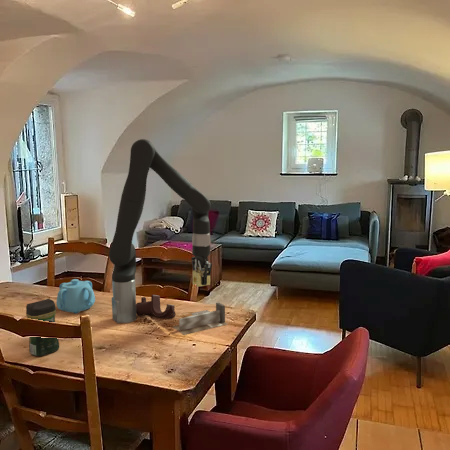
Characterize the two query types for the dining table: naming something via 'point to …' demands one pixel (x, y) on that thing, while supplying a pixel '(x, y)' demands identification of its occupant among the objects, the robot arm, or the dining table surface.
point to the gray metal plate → (200, 312)
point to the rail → (202, 321)
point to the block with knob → (199, 278)
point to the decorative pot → (75, 296)
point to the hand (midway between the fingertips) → (201, 283)
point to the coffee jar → (46, 313)
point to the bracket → (154, 308)
